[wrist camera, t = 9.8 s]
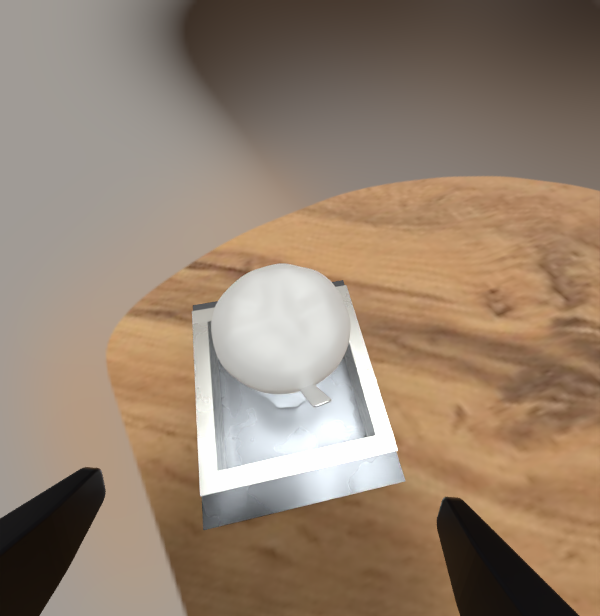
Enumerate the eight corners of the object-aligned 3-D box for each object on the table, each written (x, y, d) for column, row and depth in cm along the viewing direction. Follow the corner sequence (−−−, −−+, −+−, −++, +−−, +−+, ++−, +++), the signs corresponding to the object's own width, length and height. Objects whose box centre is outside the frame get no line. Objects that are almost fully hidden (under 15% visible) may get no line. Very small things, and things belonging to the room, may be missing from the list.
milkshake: (265, 450, 15) (224, 443, 6) (238, 356, 17) (179, 252, 9) (345, 418, 16) (409, 371, 7) (309, 332, 18) (324, 213, 9)
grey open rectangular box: (388, 476, 17) (420, 484, 13) (218, 517, 16) (189, 541, 12) (337, 300, 23) (347, 263, 18) (205, 323, 22) (182, 289, 17)
